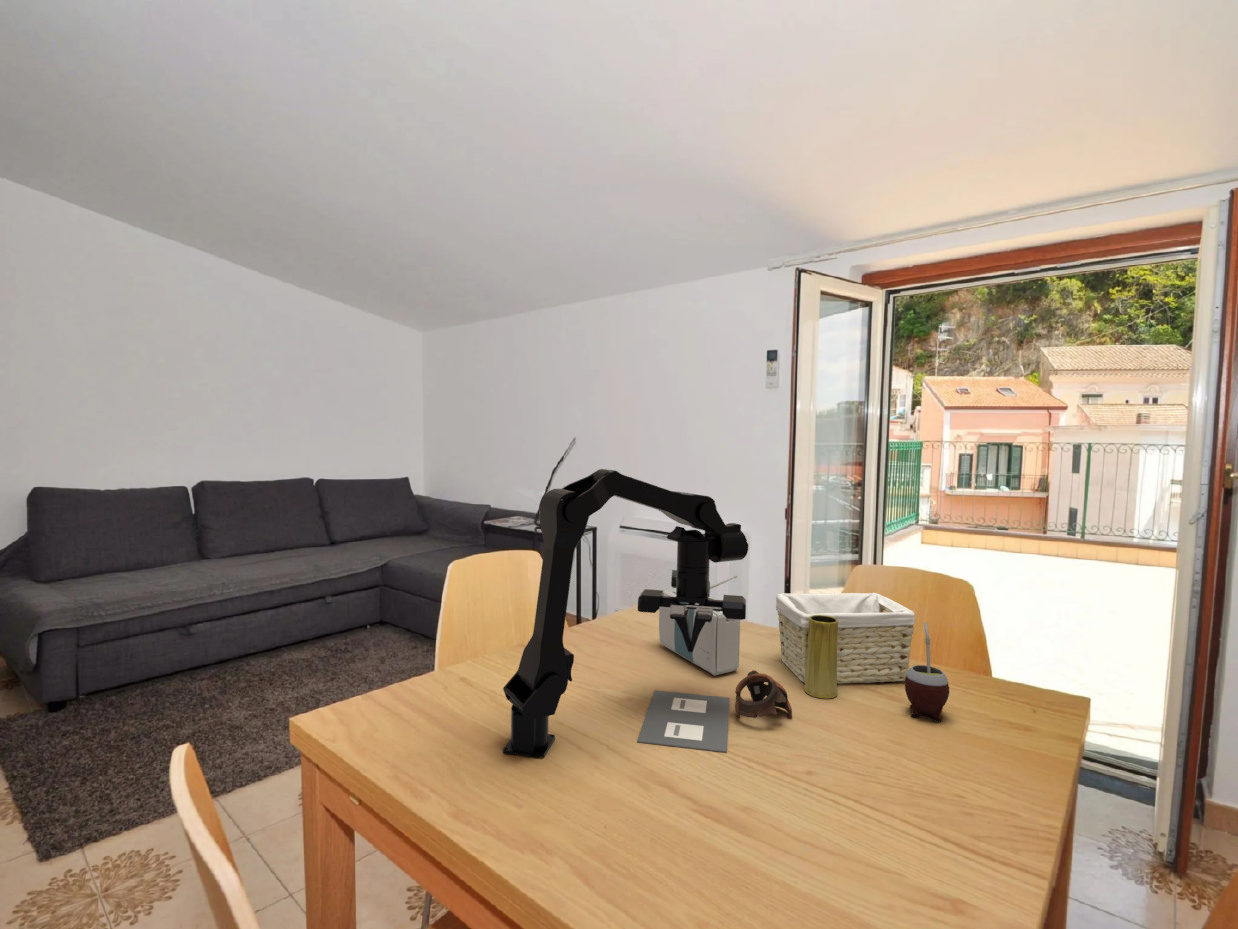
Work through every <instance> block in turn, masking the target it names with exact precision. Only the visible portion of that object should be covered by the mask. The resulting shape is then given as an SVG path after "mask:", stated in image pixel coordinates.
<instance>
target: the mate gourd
mask: <svg viewBox="0 0 1238 929" xmlns="http://www.w3.org/2000/svg"><path fill="white" fill-rule="evenodd" d="M923 627H924V632H925V638H924V640H925V643H924V644H926V645H925V646H926V649H925V650H926V665H922V664H920V665H919V664H918V665H913V666H911V667H910V668H908V672H907V673H906V678H905V681H904V689H905V690H904V691H905V694H906V697H907V700H908V701H909V703H910V704H909V709H911V711H912V713H910V717H911V718H913V719H917V718H919V719H920V718H923V717H926V718H928V719H930V720H932V721H933V722H936V723H938V724H939V723H942V718H941V715H942V712H943V709H944V706H945V705H946V704H947V702H948V699H949V696H950V686H949V679H948V678H947V675H946V674H945V673H944V671H942V670H941V669H940V668H937V667H935V666H934V667H933V666H931V650H930V647H931V645H930V644H931V638H930V635H929V628H928V623H927V622H926V621H925V622H923Z"/></svg>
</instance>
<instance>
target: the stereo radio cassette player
mask: <svg viewBox="0 0 1238 929" xmlns="http://www.w3.org/2000/svg"><path fill="white" fill-rule="evenodd" d="M737 578H738V575H734V576H733V577H731V578H728V579H726V580H724V581H720V582H717V583H716V584H713V585H710V590H712V589H714V588H717V587H719V586H720V585H723V584H726V583H727V582H729V581H731V580H733V579H737ZM663 593H664V596H670V597H676V588H673V589H668V590H663ZM708 599H711V600H719V599H718V598H715V597H713V596H711V595H710V596H709V597H708ZM681 603H682V602H681ZM685 604H689V603H685ZM695 604H696V603H695ZM658 611H659V612H658V634H659V642H660V644H662V646H664V647H665V648H666V649H668V650H670V651H672V652H673V653H675V654H676V655H678V656H680V657H682V658H683V659H686V660H687V661H689V662H691V663H692V664H694V665H696V666H697V667H699V668H701V669H702V670H704V671H706V672H708V673H709V674H711V675H713V676H715V677H716V676H719V675H723V674H726V673H731V672H735V671H737V670H738V668H739V667H740V644H741V642H740V640H741V620H739V619H727V618H726V617H725V616H724V615H723V611H713V616H712V621H711V622H705V624H704V626H703V628H702V630H701V632H700V634H699V636H698V639H697V642H696V645H695V647H694V650H693V652H688V650H687V647H686V644H685V641H684V638H683V635H682V632H681V630H680V628H679V626H678V624H677V622H676V620H675V619H671V618H670V614H671V610H670V607H660V608H659V610H658ZM695 615H696V609H689V623H690V634H691V639H692V633H693V626H694V620H695Z"/></svg>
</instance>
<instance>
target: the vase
mask: <svg viewBox="0 0 1238 929" xmlns="http://www.w3.org/2000/svg"><path fill="white" fill-rule="evenodd" d="M837 638H838V620H837V619H836V618H834V617H831V616H827V615H812V616H810V617H809V632H808V649H807V661H806V672H805V683H804V687H803V691H804V692H805V693H806V694H807V695H809V697H810V696H811V697H813V698H816V699H817V698H818V699H821V700H822V699H823V700H824V699H825V700H827V699H834V698H836V697H837V696H838V687H837V686H838V683H837Z"/></svg>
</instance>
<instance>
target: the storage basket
mask: <svg viewBox="0 0 1238 929" xmlns="http://www.w3.org/2000/svg"><path fill="white" fill-rule="evenodd" d="M775 599H776V600H775V601H776V604H775V610H776V611H777V615H778V628H779V629H778V630H779V631H778V632H779V642H780V644H779V645H780V657H781V661H782V662H783V664H785V666H786V667H787V668H788V669H789V670H790V671H791V673H793V674H794V675H795V676H796V677H797V678H798V680H799V681H801V683H804V684H805V672H806V661H807V649H808V632H809V617H810V616H812V615H827V616H831V617H834V618H836V619H837V620H838V638H837V685H839V684H841V685H842V684H843V685H844V684H856V683H862V684H863V683H864V684H870V683H871V684H873V683H885V682H889V683H890V682H893V683H894V682H905V678H906V673H907V672H908V670H909V669H910V668H909V666H910V665H909V663H910V658H911V657H910V654H911V648H912V641H913V636H912V635H913V634H914V625H915V624H916V623H915V622H916V621H915V620H916V619H915V618H916V617H915V615H916V614H915V612H914V611H913V610H912V609H909V608H908V607H905V606H904V605H902V604H900V603H898V602H896V601H894V600H892V599H891V598H889V597H886V596H884V595H882V594H879V593H877V592H867V593H863V592H861V593H860V592H844V593H842V592H841V593H840V592H839V593H835V592H834V593H787V592H785V593H783V592H782V593H778V594H776V597H775Z"/></svg>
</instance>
